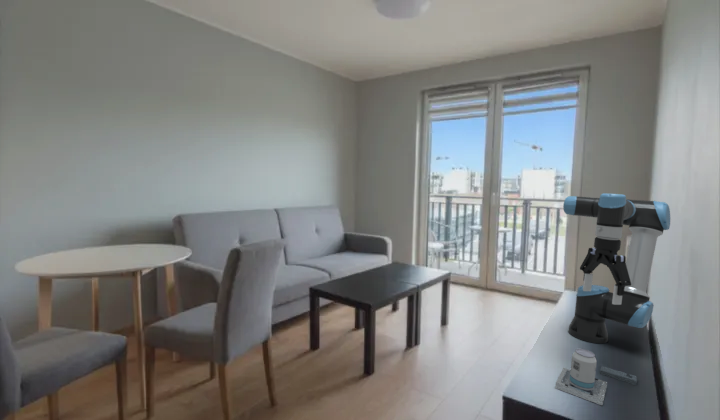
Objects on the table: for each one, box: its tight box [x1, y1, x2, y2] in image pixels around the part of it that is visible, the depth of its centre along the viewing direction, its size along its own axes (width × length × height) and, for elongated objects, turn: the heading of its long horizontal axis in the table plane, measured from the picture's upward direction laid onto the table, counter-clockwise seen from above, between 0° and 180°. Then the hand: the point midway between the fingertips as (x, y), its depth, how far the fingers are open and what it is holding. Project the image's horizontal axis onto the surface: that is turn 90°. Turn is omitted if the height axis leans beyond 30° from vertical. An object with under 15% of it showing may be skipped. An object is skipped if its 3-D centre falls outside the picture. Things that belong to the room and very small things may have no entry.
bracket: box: [600, 365, 638, 386], centre depth 126 cm, size 4×10×2 cm, turn 54°
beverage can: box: [569, 348, 598, 391], centre depth 118 cm, size 7×7×12 cm
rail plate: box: [554, 367, 608, 406], centre depth 118 cm, size 13×13×2 cm
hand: (600, 297), depth 125 cm, fingers open, 13 cm apart
